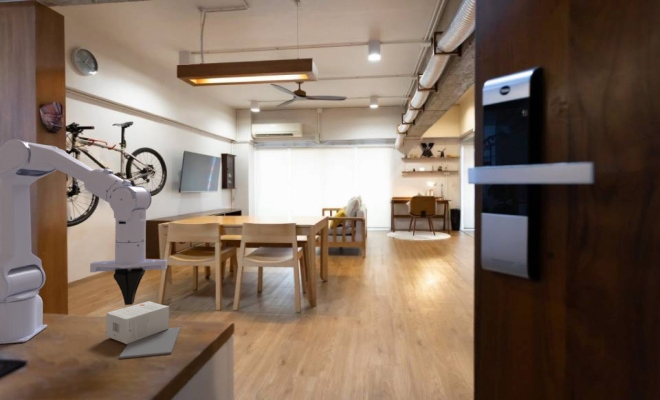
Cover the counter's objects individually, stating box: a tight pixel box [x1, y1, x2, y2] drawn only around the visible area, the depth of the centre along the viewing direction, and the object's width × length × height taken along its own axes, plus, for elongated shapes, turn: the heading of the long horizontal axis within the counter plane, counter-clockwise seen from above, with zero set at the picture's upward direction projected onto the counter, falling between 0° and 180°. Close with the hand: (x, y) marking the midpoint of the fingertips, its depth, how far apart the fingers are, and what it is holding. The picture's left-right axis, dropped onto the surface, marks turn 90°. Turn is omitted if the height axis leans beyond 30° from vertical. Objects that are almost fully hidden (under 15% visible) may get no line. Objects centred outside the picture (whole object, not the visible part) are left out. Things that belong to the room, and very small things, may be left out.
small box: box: [105, 300, 170, 345], centre depth 81 cm, size 8×6×10 cm
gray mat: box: [118, 326, 181, 360], centre depth 77 cm, size 14×10×1 cm
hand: (129, 303), depth 76 cm, fingers closed
